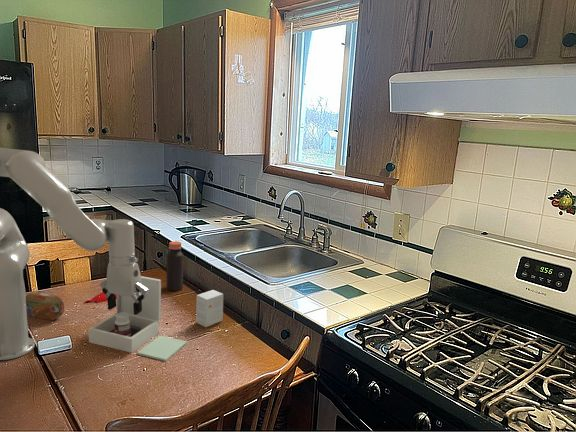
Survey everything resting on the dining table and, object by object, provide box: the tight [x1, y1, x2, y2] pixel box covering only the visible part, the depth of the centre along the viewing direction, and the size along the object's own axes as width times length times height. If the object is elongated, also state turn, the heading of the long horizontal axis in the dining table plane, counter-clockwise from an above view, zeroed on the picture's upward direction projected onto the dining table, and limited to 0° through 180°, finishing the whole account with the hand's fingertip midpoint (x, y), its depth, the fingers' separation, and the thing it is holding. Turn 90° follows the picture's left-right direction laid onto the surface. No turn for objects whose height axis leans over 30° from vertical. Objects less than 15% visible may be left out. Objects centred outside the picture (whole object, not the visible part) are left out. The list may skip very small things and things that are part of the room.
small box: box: [195, 289, 224, 328], centre depth 157 cm, size 8×6×10 cm
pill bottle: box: [114, 312, 132, 337], centre depth 141 cm, size 5×5×8 cm
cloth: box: [83, 291, 117, 305], centre depth 176 cm, size 26×14×2 cm, turn 128°
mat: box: [137, 335, 188, 362], centre depth 137 cm, size 12×10×1 cm
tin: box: [26, 292, 65, 321], centre depth 152 cm, size 15×3×8 cm, turn 76°
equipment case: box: [88, 275, 162, 354], centre depth 141 cm, size 15×16×18 cm
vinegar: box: [165, 241, 184, 292], centre depth 184 cm, size 7×7×20 cm
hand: (124, 310), depth 140 cm, fingers open, 9 cm apart
